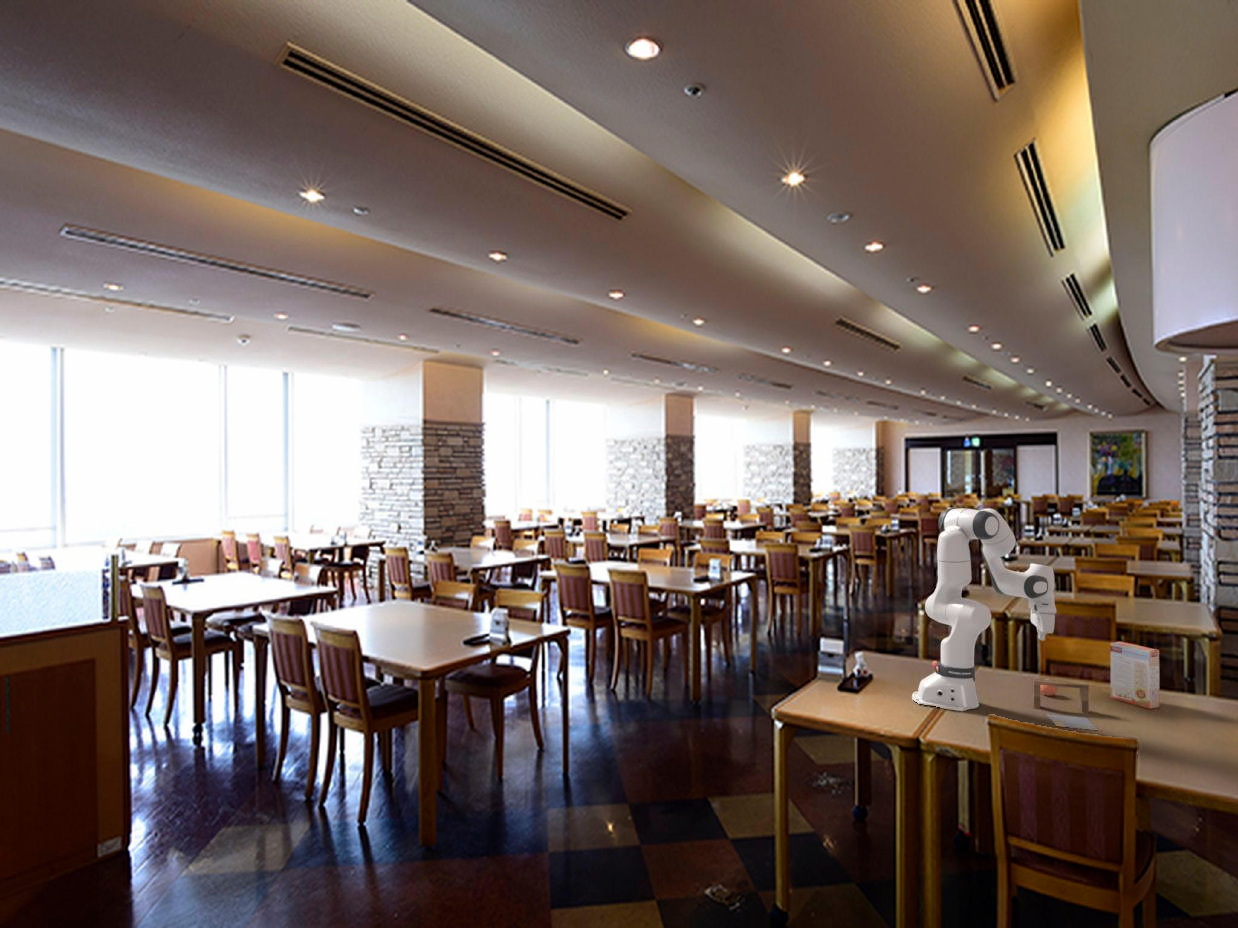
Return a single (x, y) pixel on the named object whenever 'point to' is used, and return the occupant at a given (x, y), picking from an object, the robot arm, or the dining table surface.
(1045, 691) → the ball
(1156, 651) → the cracker box
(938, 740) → the dining table surface
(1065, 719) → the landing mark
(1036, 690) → the grey rectangular frame
